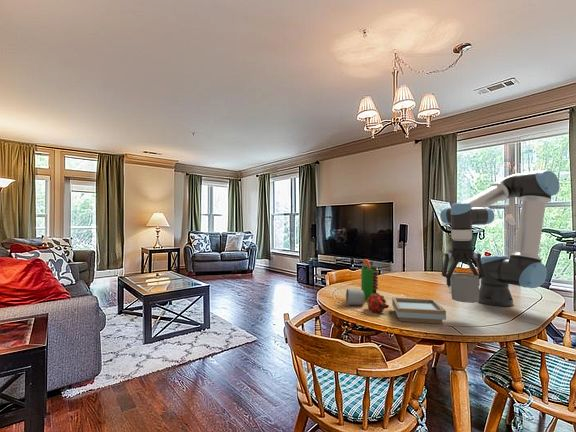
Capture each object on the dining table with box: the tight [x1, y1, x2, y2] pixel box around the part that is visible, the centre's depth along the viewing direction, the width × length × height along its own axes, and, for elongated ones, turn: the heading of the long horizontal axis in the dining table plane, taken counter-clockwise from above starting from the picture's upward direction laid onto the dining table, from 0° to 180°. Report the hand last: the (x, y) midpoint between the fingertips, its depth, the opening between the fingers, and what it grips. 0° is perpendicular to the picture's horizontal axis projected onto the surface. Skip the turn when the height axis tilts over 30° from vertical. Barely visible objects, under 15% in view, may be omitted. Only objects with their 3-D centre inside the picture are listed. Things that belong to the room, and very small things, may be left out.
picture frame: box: [391, 297, 447, 324], centre depth 133 cm, size 18×18×6 cm
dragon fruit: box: [366, 292, 390, 314], centre depth 141 cm, size 8×8×12 cm
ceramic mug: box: [345, 288, 366, 306], centre depth 154 cm, size 11×8×8 cm
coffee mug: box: [447, 272, 480, 304], centre depth 131 cm, size 13×10×10 cm
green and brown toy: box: [360, 259, 379, 301], centre depth 165 cm, size 10×9×20 cm
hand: (463, 293), depth 131 cm, fingers closed on coffee mug, 8 cm apart
